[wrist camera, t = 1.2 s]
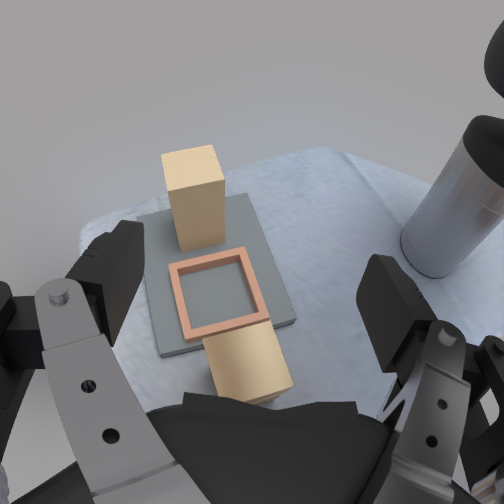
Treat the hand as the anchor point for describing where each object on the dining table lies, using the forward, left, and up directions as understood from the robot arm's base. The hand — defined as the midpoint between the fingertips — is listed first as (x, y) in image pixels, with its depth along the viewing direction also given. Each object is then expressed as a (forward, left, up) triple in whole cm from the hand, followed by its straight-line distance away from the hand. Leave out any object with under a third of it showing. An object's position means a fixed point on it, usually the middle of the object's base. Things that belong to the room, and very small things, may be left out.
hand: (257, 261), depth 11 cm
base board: (0, -12, -22) cm, 25 cm away
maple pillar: (0, +1, -22) cm, 22 cm away
